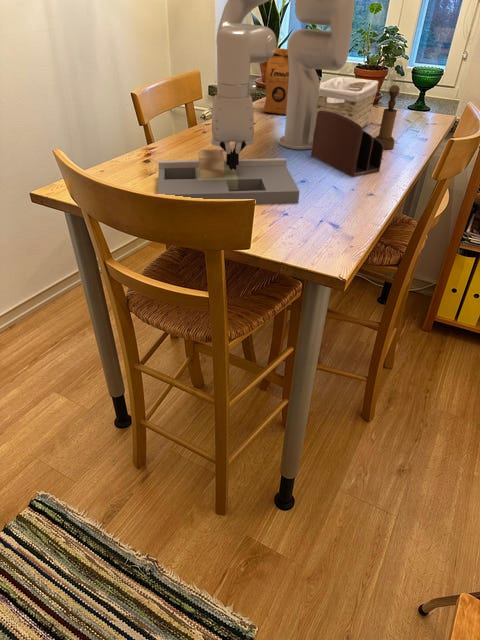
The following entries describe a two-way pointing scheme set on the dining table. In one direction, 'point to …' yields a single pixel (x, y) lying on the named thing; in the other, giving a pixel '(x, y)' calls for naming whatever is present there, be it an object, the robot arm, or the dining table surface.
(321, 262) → the dining table surface
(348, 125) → the letter holder
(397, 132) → the dining table surface
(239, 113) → the robot arm
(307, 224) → the dining table surface
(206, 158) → the beech block
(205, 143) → the dining table surface
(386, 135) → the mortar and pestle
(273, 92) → the coffee package
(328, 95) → the storage basket
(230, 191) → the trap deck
